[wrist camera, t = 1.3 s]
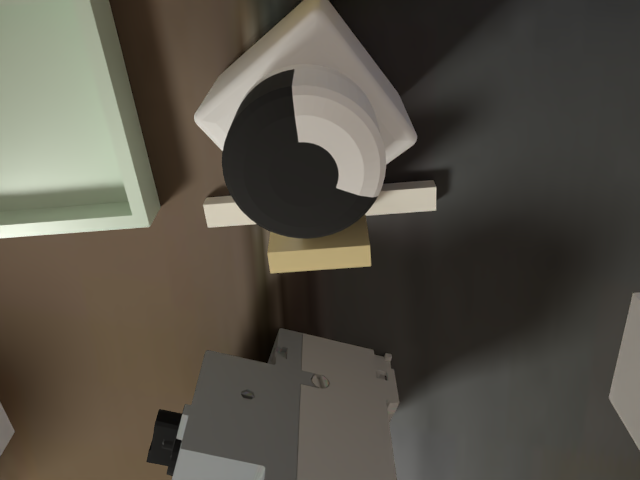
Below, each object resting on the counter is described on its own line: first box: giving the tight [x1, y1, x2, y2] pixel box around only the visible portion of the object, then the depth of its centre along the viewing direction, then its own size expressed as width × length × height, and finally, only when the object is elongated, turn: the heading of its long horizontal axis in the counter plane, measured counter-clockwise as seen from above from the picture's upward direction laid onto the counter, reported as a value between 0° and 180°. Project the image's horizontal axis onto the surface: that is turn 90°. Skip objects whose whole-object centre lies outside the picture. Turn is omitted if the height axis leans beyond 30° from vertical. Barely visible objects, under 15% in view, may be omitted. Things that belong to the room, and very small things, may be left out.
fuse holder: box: [203, 180, 436, 273], centre depth 28 cm, size 14×15×7 cm
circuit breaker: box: [147, 328, 399, 480], centre depth 34 cm, size 8×14×15 cm, turn 73°
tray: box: [0, 0, 160, 238], centre depth 30 cm, size 13×13×2 cm
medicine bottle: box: [194, 0, 417, 239], centre depth 25 cm, size 7×7×12 cm
